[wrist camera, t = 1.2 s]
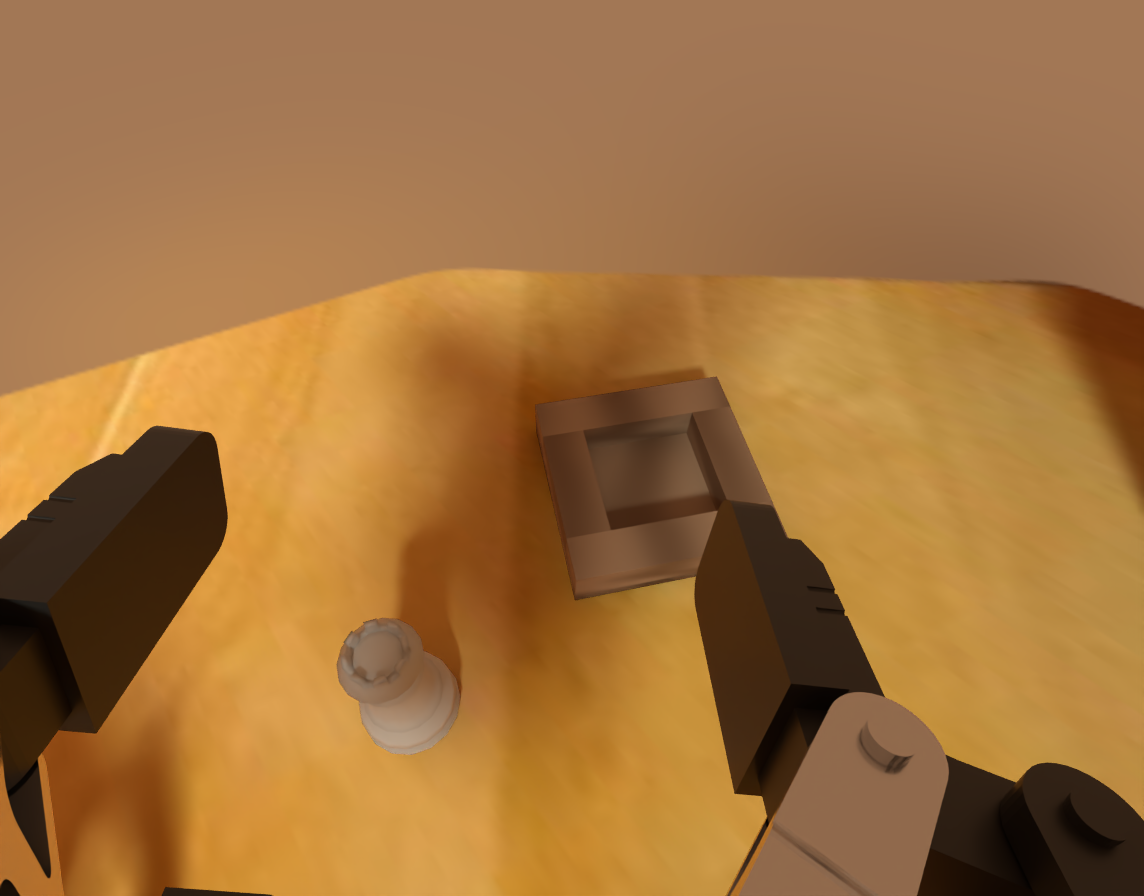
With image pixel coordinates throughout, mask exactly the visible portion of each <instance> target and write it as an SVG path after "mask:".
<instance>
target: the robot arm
mask: <svg viewBox="0 0 1144 896" xmlns="http://www.w3.org/2000/svg"><path fill="white" fill-rule="evenodd" d="M227 519H228V515H227V506H226V499H225V493H224V487H223V480H222V474H221V468H220V461H219V455H218V449H217V444H216V441H215V438H214V437H213V435H212V434H211V433H209V432H202V431H194V430H187V429H179V428H171V427H163V426H154V427H152V428H150V429H149V430H147V431H146V432H145V433H144V434H143V435H142V436H141V437H140V438H139V439H138V440H137V441H136V442H135V443H134V444H133V445H132V446H131V447H130V448H129V449H128V450H126V451H125V452H124V453H123V454H122V455H120V454H110V455H108V456H106V457H104V458H102V459H100V460H98V461H96V462H94V463H92V464H90V465H88V466H86V467H84V468H82V469H80V470H78V471H76V472H74V473H73V474H72V475H71V476H70V477H69V478H68V479H67V480H65V481H64V482H63V483H62V484H61V485H60V486H59V487H58V488H57V489H55V490H54V491H53V492H52V493H51V494H50V495H49V500H43V501H42V502H41V503H40V504H39V505H38V506H37V507H36V508H34V509H33V510H32V511H31V512H30V513H29V514H28V518H27V520H21V521H20V522H19V523H18V524H17V525H16V526H15V527H13V528H12V529H11V530H10V531H9V532H8V533H7V534H6V535H5V536H3V537H2V538H1V539H0V896H64V891H63V884H62V877H61V870H60V862H59V854H58V847H57V839H56V832H55V824H54V817H53V809H52V802H51V794H50V787H49V779H48V772H47V765H46V761H45V758H44V756H43V754H42V752H43V751H44V749H45V748H46V746H47V745H48V744H49V742H50V741H51V739H52V738H53V737H54V735H55V734H56V733H57V731H58V730H62V731H73V732H85V733H97V732H98V730H99V729H100V727H101V726H102V724H103V723H104V721H105V720H106V718H107V717H108V715H109V714H110V712H111V711H112V709H113V708H114V706H115V705H116V703H117V702H118V700H119V699H120V697H121V696H122V694H123V693H124V691H125V690H126V688H127V687H128V685H129V684H130V682H131V681H132V679H133V678H134V676H135V675H136V673H137V672H138V670H139V669H140V667H141V666H142V664H143V663H144V661H145V660H146V658H147V657H148V655H149V654H150V652H151V651H152V650H153V648H154V647H155V645H156V644H157V642H158V641H159V639H160V638H161V636H162V635H163V633H164V632H165V630H166V629H167V627H168V626H169V624H170V623H171V621H172V620H173V618H174V617H175V615H176V614H177V612H178V611H179V609H180V608H181V606H182V605H183V603H184V602H185V600H186V599H187V597H188V596H189V594H190V593H191V591H192V590H193V588H194V587H195V585H196V584H197V582H198V581H199V579H200V578H201V576H202V575H203V573H204V572H205V570H206V569H207V567H208V566H209V564H210V563H211V561H212V560H213V558H214V557H215V555H216V554H217V552H218V551H219V549H220V547H221V545H222V542H223V540H224V536H225V533H226V528H227ZM834 591H835V588H834V586H833V584H832V582H831V580H830V577H829V575H828V573H827V571H826V569H825V567H824V564H823V563H822V562H821V561H820V560H819V559H818V558H817V557H816V556H815V555H814V554H813V552H812V551H811V550H810V549H809V548H808V547H807V546H806V545H805V544H804V543H803V542H802V541H801V540H798V539H790V538H787V537H786V535H785V533H784V530H783V528H782V525H781V523H780V521H779V518H778V516H777V513H776V511H775V509H774V508H773V507H772V506H771V505H766V504H758V503H750V502H742V501H734V500H724V501H723V502H722V503H721V505H720V507H719V509H718V512H717V514H716V517H715V520H714V523H713V526H712V529H711V532H710V535H709V538H708V540H707V543H706V546H705V549H704V552H703V555H702V558H701V561H700V564H699V567H698V570H697V574H696V580H695V594H694V595H695V607H696V612H697V617H698V621H699V626H700V631H701V636H702V641H703V645H704V650H705V655H706V660H707V664H708V669H709V674H710V679H711V683H712V688H713V693H714V698H715V702H716V707H717V712H718V717H719V721H720V726H721V731H722V736H723V740H724V745H725V750H726V755H727V759H728V764H729V769H730V774H731V778H732V783H733V788H734V793H735V794H744V795H755V796H762V797H763V801H764V805H765V809H766V813H767V818H766V819H765V821H764V823H763V824H762V826H761V828H760V830H759V832H758V834H757V836H756V838H755V840H754V842H753V844H752V845H751V847H750V849H749V851H748V853H747V855H746V857H745V859H744V861H743V863H742V865H741V867H740V869H739V871H738V873H737V874H736V876H735V878H734V880H733V882H732V884H731V886H730V888H729V890H728V892H727V894H726V896H1144V821H1143V819H1142V818H1141V817H1140V816H1139V815H1138V814H1137V813H1136V811H1135V810H1134V809H1133V808H1132V807H1131V806H1130V805H1129V804H1128V803H1127V802H1126V801H1125V800H1123V799H1122V798H1121V797H1120V796H1119V795H1117V794H1116V793H1115V792H1114V791H1113V790H1111V789H1110V788H1108V787H1107V786H1106V785H1104V784H1103V783H1101V782H1100V781H1098V780H1096V779H1095V778H1093V777H1091V776H1090V775H1088V774H1086V773H1083V772H1081V771H1079V770H1077V769H1074V768H1072V767H1069V766H1066V765H1061V764H1057V763H1041V764H1037V765H1035V766H1032V767H1031V768H1030V769H1029V770H1027V772H1026V773H1025V774H1024V775H1023V776H1022V777H1021V778H1020V779H1019V780H1018V781H1017V783H1016V782H1013V781H1010V780H1008V779H1005V778H1003V777H1000V776H997V775H995V774H992V773H990V772H987V771H984V770H982V769H979V768H977V767H974V766H972V765H969V764H966V763H964V762H961V761H959V760H956V759H954V758H952V757H949V756H947V755H945V753H944V751H943V749H942V747H941V745H940V743H939V741H938V740H937V738H936V737H935V735H934V734H933V733H932V732H931V730H930V729H929V728H928V727H927V726H926V725H925V724H924V723H923V722H922V721H921V720H920V719H919V718H918V717H917V716H915V715H914V714H913V713H912V712H910V711H909V710H907V709H906V708H904V707H903V706H901V705H900V704H898V703H896V702H894V701H892V700H890V699H887V698H885V696H884V694H883V692H882V690H881V688H880V685H879V683H878V681H877V679H876V677H875V675H874V673H873V670H872V668H871V666H870V664H869V662H868V660H867V657H866V655H865V653H864V651H863V649H862V647H861V644H860V642H859V640H858V638H857V636H856V634H855V631H854V629H853V627H852V625H851V623H850V621H849V618H848V616H845V615H844V611H845V610H844V608H843V606H842V603H841V601H840V599H839V597H838V595H837V594H835V593H834ZM162 896H272V895H267V894H253V893H239V892H225V891H211V890H197V889H184V888H170V887H165V889H164V892H163V894H162Z"/></svg>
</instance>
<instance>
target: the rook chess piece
mask: <svg viewBox="0 0 1144 896" xmlns="http://www.w3.org/2000/svg"><path fill="white" fill-rule="evenodd" d="M363 623H364V625H362V626H361V627H359V628H358V629H357V630H355V631H354V632H352V631H351V632H350V634H349V635H348V637H347V638H346V640H345V641H344V645H343V646H342V647H341V650H340V654H339V658H338V661H337V671H338V679H339V682H340V684H341V685H342V687H343V688H344V690H345V691H346V693H347V694H348V695H349V696H351V697H353V698H354V699H356V700H358V701H359V706H360V713H361V720H362V724H363V725H364V727H365V729H366V730H367V732H368V733H369V735H370V736H371V738H372V739H373V741H374V742H375V744H377V745H378V746H380V747H382V748H384V749H385V750H387V751H389V752H390V753H395V754H408V755H412V754H415V753H418V752H421V751H424V750H426V749H429V748H431V747H432V746H434V745H435V744H436V743H437V742H438V741H440V740H441V739H442V738H443V737H444V736H445V735H447V733H448V731H449V730H450V728H451V726H452V724H453V723H454V721H455V719H456V717H457V714H458V708H459V701H460V693H459V689H458V685H457V680H456V678H455V676H454V675H453V674H452V672H451V671H450V670H449V668H448V667H447V666H446V664H444V662H443V661H442V660H441V659H439V658H437V657H436V656H434V655H432V654H430V653H428V652H426V651H424V650H423V645H422V641H421V638H420V637H419V635H418V634H417V633H416V631H415V630H414V629H413V627H412V626H410V625H408V624H406V623H405V622H403V621H401V620H399V619H389V618H380V619H373V620H370V621H366V622H363Z"/></svg>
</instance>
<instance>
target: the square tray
mask: <svg viewBox="0 0 1144 896" xmlns="http://www.w3.org/2000/svg"><path fill="white" fill-rule="evenodd" d="M535 410H536V431H537V436H538V440H539V444H540V449H541V453H542V457H543V462H544V466H545V471H546V475H547V479H548V484H549V488H550V493H551V497H552V501H553V506H554V510H555V515H556V519H557V523H558V528H559V532H560V537H561V541H562V545H563V550H564V554H565V559H566V563H567V567H568V572H569V576H570V580H571V585H572V589H573V594H574V598H575V600H578V599H583V598H588V597H594V596H599V595H604V594H609V593H614V592H619V591H624V590H629V589H634V588H639V587H644V586H649V585H654V584H659V583H664V582H670V581H675V580H680V579H685V578H690V577H695V576H696V574H697V570H698V567H699V564H700V561H701V558H702V555H703V552H704V549H705V546H706V543H707V540H708V538H709V535H710V532H711V529H712V526H713V523H714V520H715V517H716V514H717V512H718V509H719V507H720V505H721V503H722V502H723V501H724V500H734V501H742V502H750V503H758V504H766V505H771V506H772V507H773V508H774V509H775V507H774V505H773V503H772V500H771V498H770V496H769V494H768V491H767V489H766V487H765V484H764V482H763V480H762V478H761V475H760V473H759V471H758V469H757V466H756V464H755V462H754V459H753V457H752V455H751V453H750V450H749V448H748V446H747V444H746V441H745V439H744V437H743V435H742V432H741V430H740V428H739V425H738V423H737V421H736V419H735V416H734V414H733V412H732V410H731V407H730V405H729V403H728V401H727V398H726V396H725V394H724V391H723V389H722V387H721V385H720V382H719V380H718V378H717V377H711V378H704V379H698V380H691V381H685V382H679V383H672V384H666V385H659V386H653V387H646V388H640V389H633V390H627V391H621V392H614V393H608V394H601V395H595V396H588V397H582V398H575V399H569V400H563V401H556V402H550V403H543V404H537V405H535ZM775 511H776V509H775ZM776 513H777V512H776ZM777 516H778V514H777ZM778 518H779V516H778ZM779 521H780V518H779ZM780 523H781V521H780ZM781 525H782V523H781ZM782 528H783V525H782ZM783 530H784V528H783ZM784 533H785V535H786V537H787V534H786V532H785V530H784ZM787 538H788V537H787Z"/></svg>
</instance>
